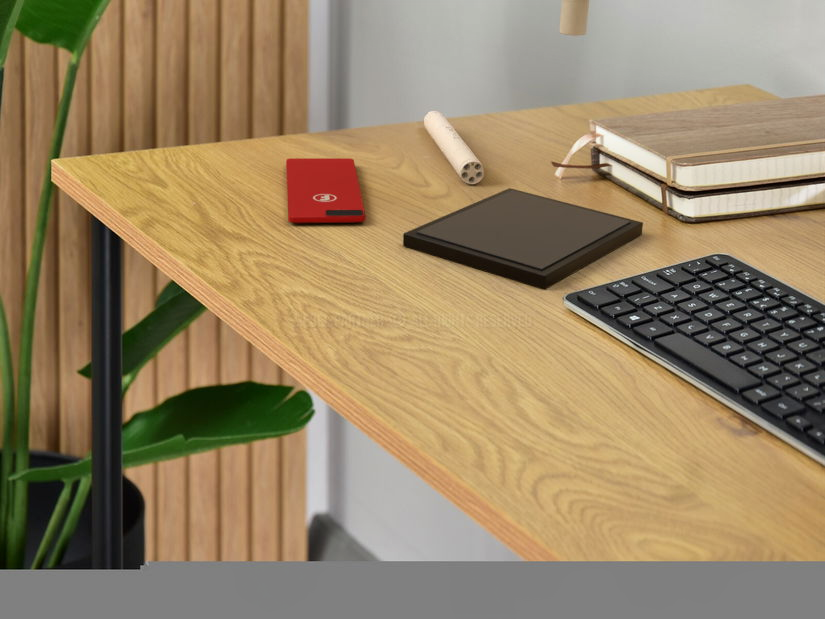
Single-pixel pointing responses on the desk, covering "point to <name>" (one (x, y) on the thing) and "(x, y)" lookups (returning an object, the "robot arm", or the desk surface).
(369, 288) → the desk surface
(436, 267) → the desk surface
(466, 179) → the cream cylinder
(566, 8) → the stylus
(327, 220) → the electronic device
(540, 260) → the tablet
